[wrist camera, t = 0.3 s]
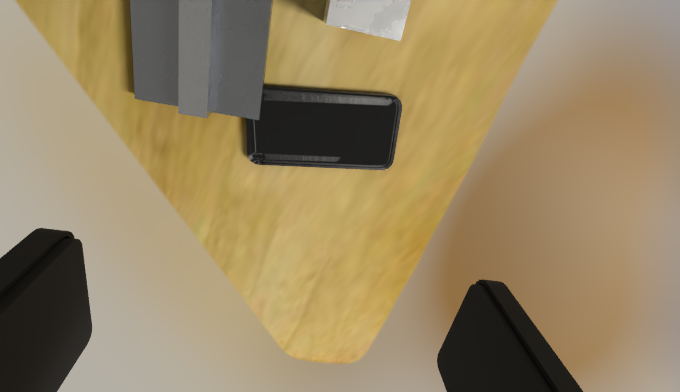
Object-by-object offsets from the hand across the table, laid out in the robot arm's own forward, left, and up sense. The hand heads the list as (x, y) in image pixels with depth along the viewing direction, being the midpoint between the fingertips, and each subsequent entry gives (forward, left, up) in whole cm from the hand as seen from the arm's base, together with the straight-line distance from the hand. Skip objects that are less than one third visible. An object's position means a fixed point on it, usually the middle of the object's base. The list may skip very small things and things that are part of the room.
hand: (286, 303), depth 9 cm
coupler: (-4, -9, -29) cm, 30 cm away
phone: (+4, +3, -29) cm, 30 cm away
